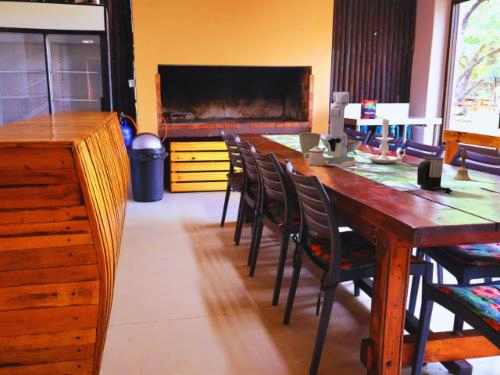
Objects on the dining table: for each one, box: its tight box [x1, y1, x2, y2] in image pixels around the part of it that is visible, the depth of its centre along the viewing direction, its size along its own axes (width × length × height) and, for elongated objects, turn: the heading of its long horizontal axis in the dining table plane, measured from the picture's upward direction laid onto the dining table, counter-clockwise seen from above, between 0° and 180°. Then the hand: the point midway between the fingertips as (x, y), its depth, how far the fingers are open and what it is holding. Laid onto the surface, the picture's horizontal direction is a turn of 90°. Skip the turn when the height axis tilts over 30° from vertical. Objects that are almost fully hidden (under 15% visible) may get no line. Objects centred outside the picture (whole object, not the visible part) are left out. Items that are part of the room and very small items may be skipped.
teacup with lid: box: [303, 146, 325, 167], centre depth 281 cm, size 12×9×12 cm
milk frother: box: [416, 155, 453, 194], centre depth 209 cm, size 14×16×15 cm
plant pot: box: [298, 132, 322, 159], centre depth 313 cm, size 15×15×16 cm
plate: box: [327, 141, 341, 157], centre depth 274 cm, size 2×8×8 cm, turn 43°
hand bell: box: [452, 148, 472, 182], centre depth 236 cm, size 8×8×16 cm
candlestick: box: [366, 118, 407, 164], centre depth 289 cm, size 21×25×28 cm
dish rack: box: [325, 155, 358, 168], centre depth 282 cm, size 14×12×4 cm
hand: (334, 151), depth 275 cm, fingers closed on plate, 2 cm apart
